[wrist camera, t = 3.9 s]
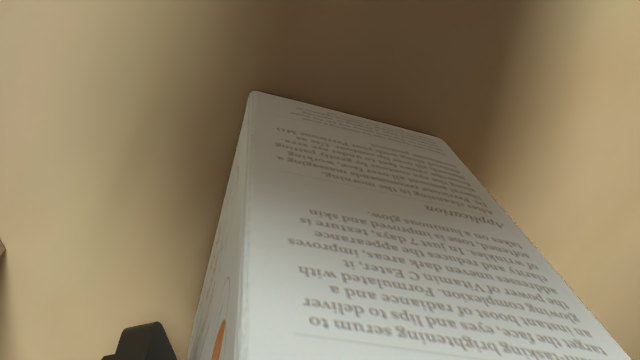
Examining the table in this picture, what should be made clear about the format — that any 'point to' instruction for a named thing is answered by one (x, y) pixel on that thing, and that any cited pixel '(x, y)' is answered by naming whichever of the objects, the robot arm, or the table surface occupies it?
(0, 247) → the walnut block
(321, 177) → the small box
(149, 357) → the robot arm
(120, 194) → the table surface
